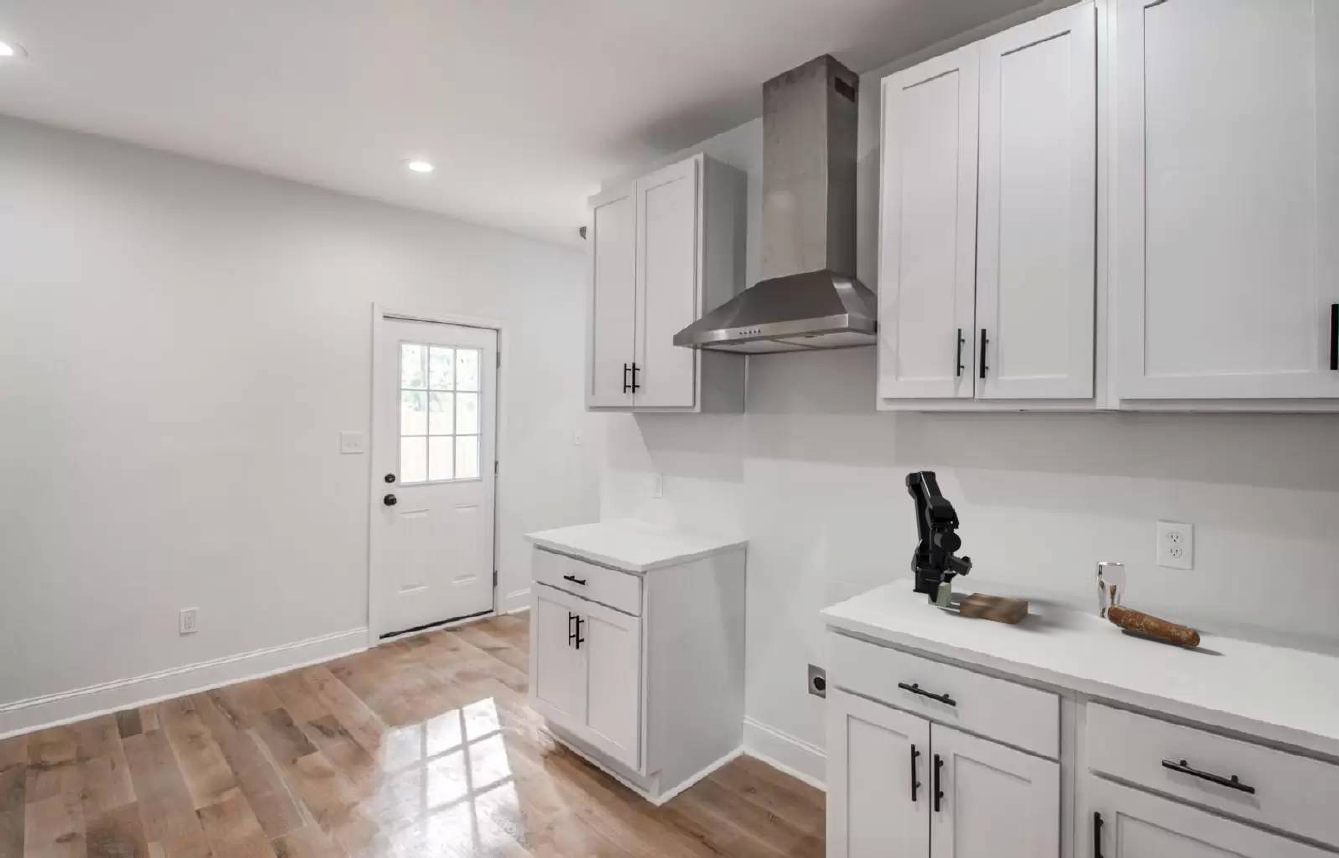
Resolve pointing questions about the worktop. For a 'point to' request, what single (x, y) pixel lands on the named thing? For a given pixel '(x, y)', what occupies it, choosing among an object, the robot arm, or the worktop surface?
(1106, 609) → the beer glass
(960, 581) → the worktop surface
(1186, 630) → the bread
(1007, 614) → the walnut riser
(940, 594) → the sage block
